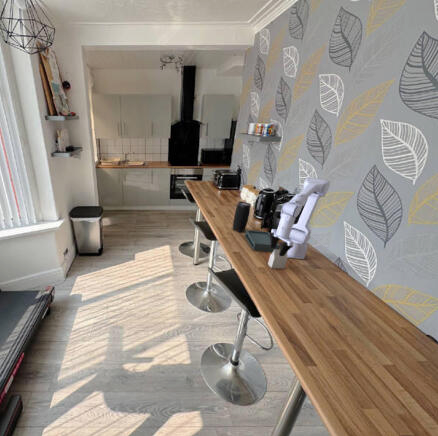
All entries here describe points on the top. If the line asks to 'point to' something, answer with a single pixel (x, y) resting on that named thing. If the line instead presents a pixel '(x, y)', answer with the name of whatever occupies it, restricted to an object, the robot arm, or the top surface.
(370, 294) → the top surface
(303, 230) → the robot arm
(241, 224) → the portable speaker
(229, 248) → the top surface
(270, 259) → the light grey block
